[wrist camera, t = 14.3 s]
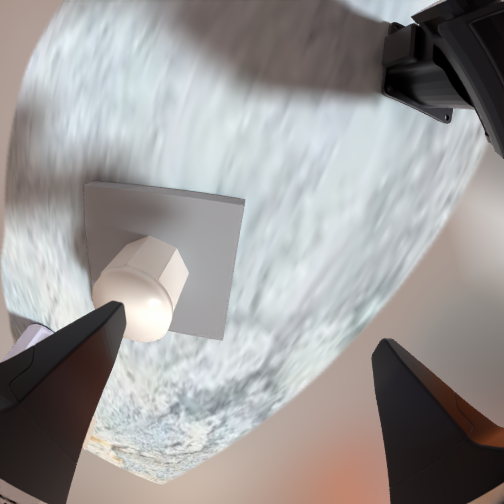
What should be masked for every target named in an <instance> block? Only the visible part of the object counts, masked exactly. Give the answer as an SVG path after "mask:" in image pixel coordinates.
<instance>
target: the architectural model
mask: <svg viewBox="0 0 504 504" xmlns="http://www.w3.org/2000/svg"><path fill="white" fill-rule="evenodd" d="M95 424H96V421H95V419H94V417H93V418H92V421H91V423H90V426H89V429H88V432H87V435H86V438H85V440H84V443H83V446H82V447H83V449H84V450H86V448H87V446H88V443H89V440H90V437H91V435H92V432H93V429H94V427H95Z"/></svg>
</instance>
